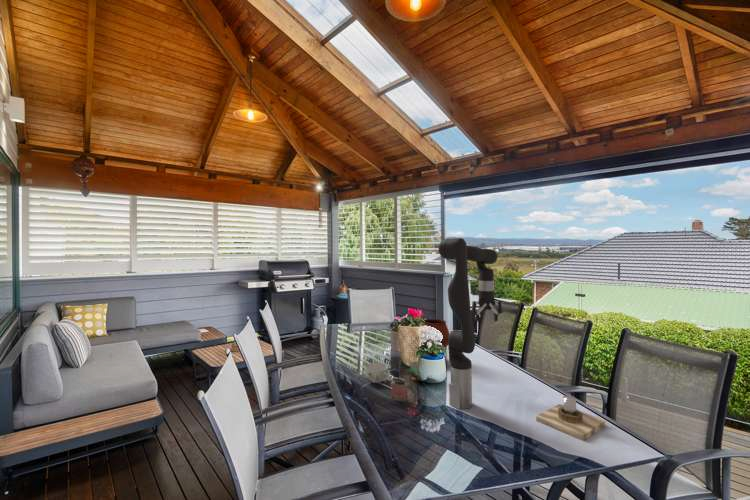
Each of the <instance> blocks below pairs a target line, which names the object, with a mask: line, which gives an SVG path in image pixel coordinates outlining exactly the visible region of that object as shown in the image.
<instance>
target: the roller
mask: <svg viewBox="0 0 750 500" xmlns="http://www.w3.org/2000/svg"><path fill="white" fill-rule="evenodd" d="M562 400H563V405H564V414H567V415H570V416H577V414H576V409H577V398H576V397H575V396H572V395H564V396H563V399H562Z"/></svg>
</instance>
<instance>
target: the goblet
mask: <svg viewBox="0 0 750 500" xmlns="http://www.w3.org/2000/svg"><path fill="white" fill-rule="evenodd" d="M424 321H425V322H423V321H422V323H423V324H424V325H427V326H431V327H434V328H436V329H437V330H439V331H440V332H441V333H442V335H443V339H442V341H441V343H442V345H443V346H444V347H445V349H446V348H448V338H449V334H450V331H449V328H448V326H447V321H446V320H444V319H440V318H431V319H429V318H426V319H424Z"/></svg>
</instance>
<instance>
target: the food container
mask: <svg viewBox="0 0 750 500" xmlns="http://www.w3.org/2000/svg"><path fill="white" fill-rule="evenodd" d="M418 361H419V360H417V361H415V362H414V361H413V362H412V361H408V366H409V370H410V371H409V373H410V380H411V381H413V382H418V381H421V377H420V372H419V363H418Z"/></svg>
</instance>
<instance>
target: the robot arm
mask: <svg viewBox="0 0 750 500" xmlns="http://www.w3.org/2000/svg"><path fill="white" fill-rule="evenodd" d="M438 254H439V256H440V257H442V258H443V259H445V260H455V272H454V274H453V276H452V278H451V280H450V282H449V284H448V287H447V298H448V304H449V307H450V309H451V310H452V312H453V314H454V315H455V317H456V319H457V320H458V322H459V326H460V329H453V330H451V331H449V338H448V346H447V348H448V358H449V363H450V383H449V384H448V386H449V391H448V392H449V394H448V395H449V399H448V400H449V405H450V406H452V407H454V408H457V409H458V410H461V409H462V410H463V409H465V410H466V409H469V408H471V407H472V406H473V385H472V384H473V383H472V381H473V378H472V374H473V372H472V367H473V366H472V360H471V359H470V358H468V357H467V356H466V354H473V352H474V351H475V347H476V335H475V330H474V324H473V320H472V314H475V321H477V323H480V321H481V320H480V319H481V318H480V316H481V315H480V313H481V312H483V311H486V310H487V311H492V312H493V322H494V323H496V322H497V321H498V320H499V314H502V312H503V311H502V310H503V309H502V301H500V300H496V301H495V282H494V280H495V279H494V278H495V277H494V270H493V269H492V268H489V267H487V266H486V265H492V264H494V263H496V262H497V260H498V253H497V252H496V251H495V250H494V249H489V248H482V247H478V246H474V245H467V242H466V240H465V239H464V238H462V237H456V238H454V237H452V238H451V237H450V238H444V239H443V240H441V241H440V242H439V244H438ZM468 261H470V262H475V263H476V266H477V271H478V300H477V301H475V300H472V302H471V296H470V295H471V294H470V287H469V276H468ZM495 305H496V307H497V309H496V308H495V307H494V306H495ZM477 306H479V307H478V308H477Z"/></svg>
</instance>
